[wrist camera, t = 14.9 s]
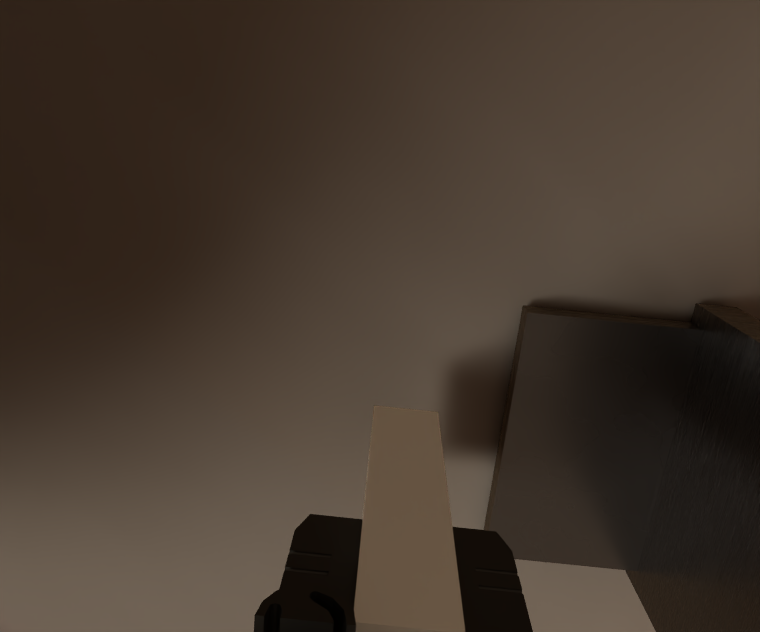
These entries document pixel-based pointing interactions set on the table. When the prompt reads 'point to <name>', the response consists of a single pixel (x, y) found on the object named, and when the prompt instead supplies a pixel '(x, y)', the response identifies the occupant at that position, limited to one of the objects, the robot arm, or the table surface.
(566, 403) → the bookend
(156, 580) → the table surface
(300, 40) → the table surface
